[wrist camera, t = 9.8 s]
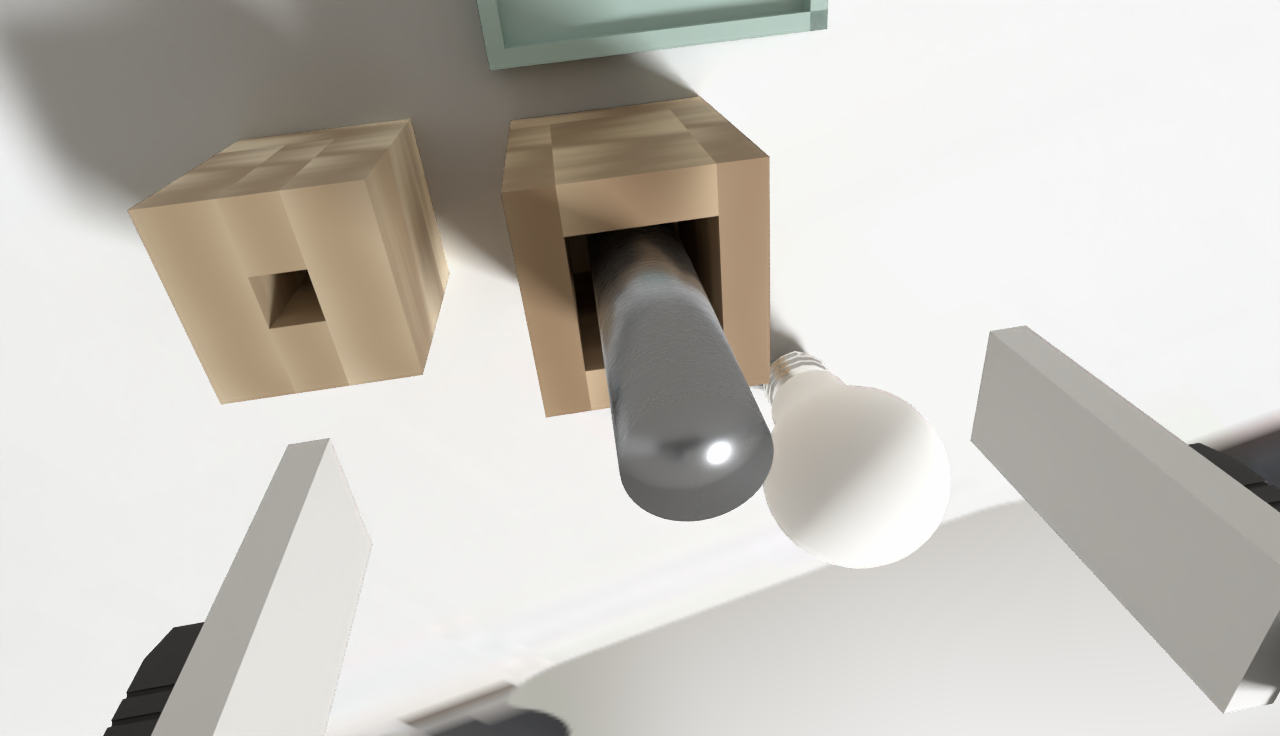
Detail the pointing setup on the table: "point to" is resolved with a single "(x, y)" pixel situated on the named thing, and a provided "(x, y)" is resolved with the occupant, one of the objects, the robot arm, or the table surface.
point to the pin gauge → (673, 381)
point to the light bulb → (851, 467)
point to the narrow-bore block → (302, 260)
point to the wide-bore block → (626, 198)
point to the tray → (630, 26)
